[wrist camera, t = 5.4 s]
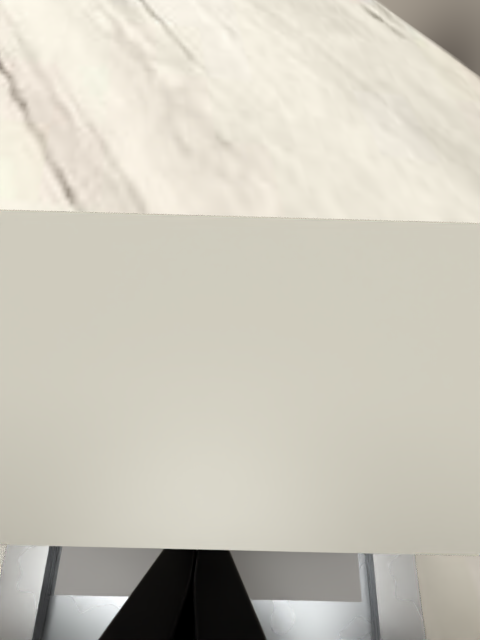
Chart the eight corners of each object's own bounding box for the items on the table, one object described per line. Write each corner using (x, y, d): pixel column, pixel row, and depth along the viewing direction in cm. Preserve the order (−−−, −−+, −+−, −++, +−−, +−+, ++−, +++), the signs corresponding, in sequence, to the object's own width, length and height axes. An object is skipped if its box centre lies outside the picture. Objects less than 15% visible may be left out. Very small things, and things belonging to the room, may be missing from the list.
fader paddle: (357, 597, 13) (939, 832, 2) (61, 590, 13) (-736, 797, 2) (344, 422, 15) (608, 130, 5) (90, 415, 15) (-242, 105, 4)
